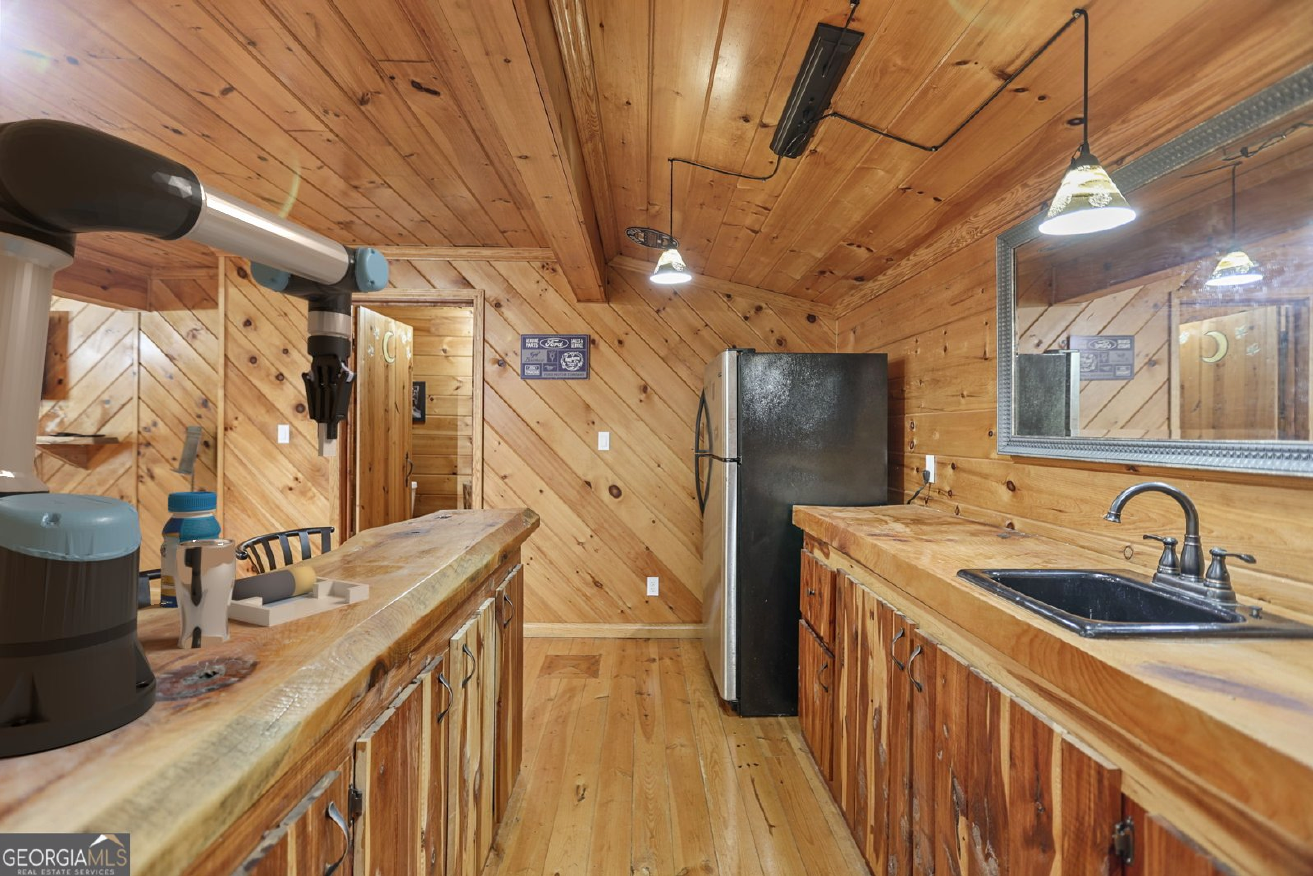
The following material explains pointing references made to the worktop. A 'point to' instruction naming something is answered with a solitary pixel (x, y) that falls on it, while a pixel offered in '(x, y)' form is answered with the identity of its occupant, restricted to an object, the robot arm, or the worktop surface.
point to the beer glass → (204, 590)
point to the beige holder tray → (299, 603)
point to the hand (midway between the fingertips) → (327, 456)
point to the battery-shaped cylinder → (275, 584)
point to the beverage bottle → (185, 533)
